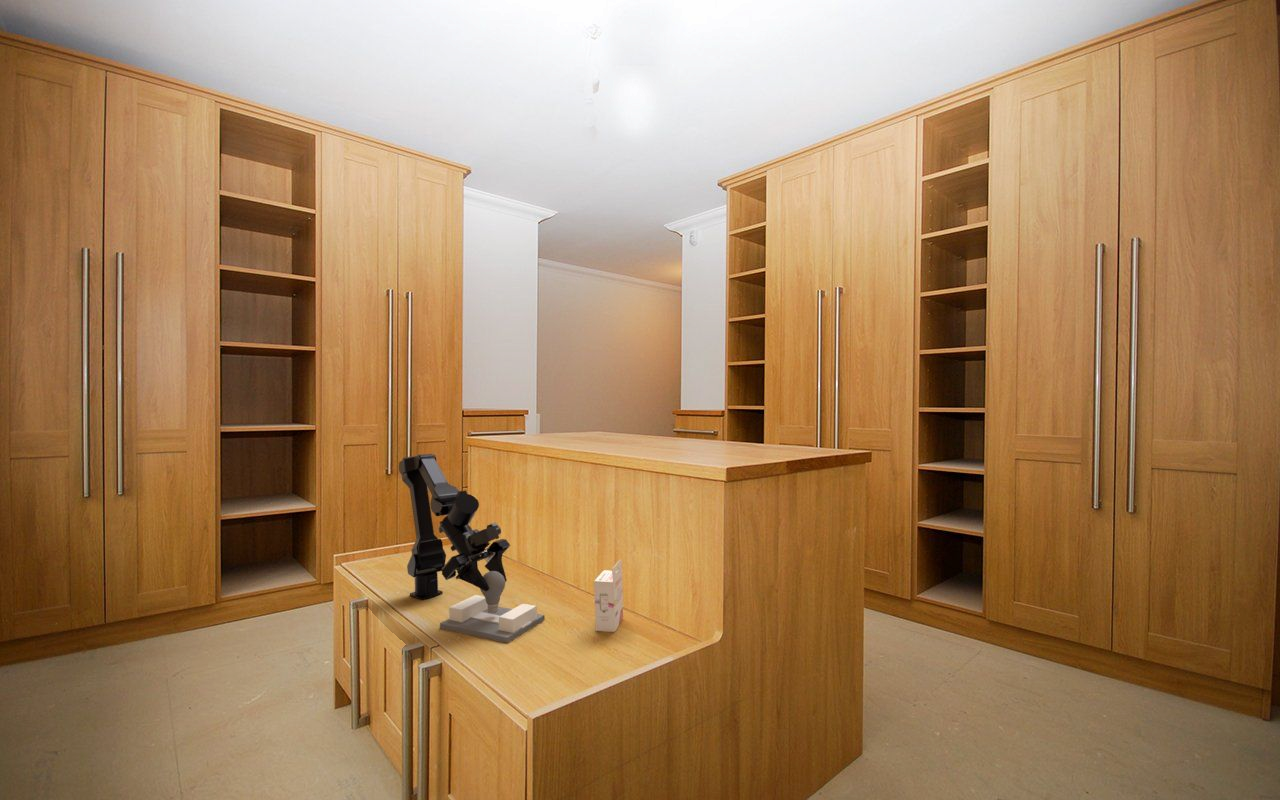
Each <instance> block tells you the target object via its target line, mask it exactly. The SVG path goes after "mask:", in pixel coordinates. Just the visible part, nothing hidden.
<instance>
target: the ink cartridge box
mask: <svg viewBox="0 0 1280 800" xmlns="http://www.w3.org/2000/svg"><path fill="white" fill-rule="evenodd" d="M622 567H623V566H622V559H620V558H619V560H618V561H617V562H616V563H615V564H614V566H613V567H612V568H611V570H608V569H607V570H605V569H604V570H603V571H602V572H601V573H600V574H598V576H597V578H596V579H594V581H593V585H594V586H593V587H594V617H595V619H594V621H595V623H594V624H595V632H607V633H608V632H609V633H615V632H616V630H617V629H618V627H620V626H619V625H620V623H621V622H622V620H623V618H624V611H623V610H624V607H623V605H624V599H623V596H624V595H623V568H622Z"/></svg>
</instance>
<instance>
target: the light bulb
mask: <svg viewBox="0 0 1280 800" xmlns="http://www.w3.org/2000/svg"><path fill="white" fill-rule="evenodd" d="M482 576H483V578H484V579H485V581H486V582H487V584H488V586H489V590H488V591H484V590H482V589H480V588H479V589H480V592H481V594H482V595H483V597H485V598H486V603H487V605H488V613H491V614H494V613H496V612H498V611H499V607H500V606H499V602H500V600H501V596H502V594H503V592H504V590H505V587H506V582H505V579H504V577H503V575H502V574H501V573H499V572H497V571H487V572H486V573H485V574H483V575H482Z"/></svg>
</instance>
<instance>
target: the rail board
mask: <svg viewBox="0 0 1280 800" xmlns="http://www.w3.org/2000/svg"><path fill="white" fill-rule="evenodd" d="M498 607H499V611H498V612H496V613H494V614H491V613H488V605H487V603H486V598H485V597H484V595H483V596H482V595H477V594H474V595H472V596H470V597H468V598H466V599H463V600H462V601H459V602H457V603H455V604H453V605H451V606H449V607H448V614H449V615H448V617H449V618H447V619H446V620H442V621H441V622H439V629H442V630H445V631H446V630H448V631H451V632H456V633H460V634H464V635H470V636H474V637H479V638H482V639H488V640H491V641H497V642H500V643H501V642H502V643H506V644H508V643H510V642H512V641H513V640H515V639H516V638H518V637H520V636H521V635H523V634H525V633H526V632H528V631H529V630H531V629H533V628H534V627H536V626H537V625H539V624H540V623H542V622H544V621H545V619H546V617H545V614H542V613H538V612H537V608H538V607H537V605H532V604H527V603H520V604H519V605H517V606H516V607H515V608H508V607H505V606H504V607H502V606H498Z"/></svg>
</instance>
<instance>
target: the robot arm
mask: <svg viewBox="0 0 1280 800" xmlns="http://www.w3.org/2000/svg"><path fill="white" fill-rule="evenodd" d="M398 472H399V474H401V480H402V482H403V483H404V484H405V486H407V487H408V489H409V493H410V500H411V509H412V516H413V522H414V530H415V531H414V532H415V536H416V539H415V542H414V544H413V546H412V548H411V556H410V558H409V561H408V563H407V566H406V567H407V568H406V569H407V575H409V576H411V577H412V578H414V591H413V592H410V593H409V596H410V597H413V598H416V599H418V600H422V601H423V600H425V599H429V598H431V597H436V596H439V595H442V594H443V593H444V591H443V590H440V589H439V579H438V573H439V572H441V575H442V577H444V579H445V581H448V580H450V579H453V578H455V579H456V580H461V581H464V582H466V583H468V584H470V585H472V586H475V587H477V588H478V589H482V590H484V591H488V590H489V586H488V584H487V582H486V581H485V579H484V578H483V576H484V575H483V574H482V573H481V571H480V569H479V566H478V562H480V561H483V560H484V561H485V562H486V564H485V565H484V568H485V569H487V570H488V572H490V571H497V572H499V573H501V574H502V575H503V577H504V579H505V583H506V582H507V576H506V572H505V570H504V569H505V568H504V566H503V560H502V559H503V555H504V553H505V552H506V551H507V550H508V549H509V547H511V544H510V543H509V542H508V540H507V539H506V538H501V539H499V538H500V536H499V535H501V533H502V529H501V527H500V526H499V525H498V524H497V522H493V523H490V524H488V525H486V528H484V529H482V530H479V529H476V528H475V529H472V527H471V525H470V523H471V522H472V520H473V519H474V516H475V515H476V513H477V511H478V509H479V507H480V502H479V500H478V499H477V498H476V497H475V496H473V495H472V494H469V493H468V492H467V490H466V489H465V490H459V489H458V488H457V487H456V486H455V485H452V484H450V483H449V482H448V480H447V479H446V477H445V475H444V473H443V472H442V470H441V468H440V466H439V464H438V462H437V456H436V455H435V454H434V453H433V454H432V453H425V454H418V455H415V456H405V457H404V456H403V458H402V460H400V461H399V462H398ZM429 493H430V495H431V499H430V496H429ZM432 513H433V514H434V516H435V517H441V516H442V517H443V516H445V517H444V518H443V519H442V520H441V521H439V526H438V532H439V533H440V534H441V533H444V534H445V536H446V537H447V539H448V540H449V541H450V544H451V547H450V550H451V552H455V551H456V552H457V553H458V554H456V555H453V556H451V557H450V559H448V561H447V562H446V560H447V559H446V558H447V553H446V550H445V549H444V546H443V545H444V544H443V540H442V539H441V538H438V537H437V536H436V534H435V531H434V530H435V529H434V523H433V518H432V517H433V516H432ZM494 540H495V541H494ZM491 541H493V542H492V543H491V544H490V542H491Z"/></svg>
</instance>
